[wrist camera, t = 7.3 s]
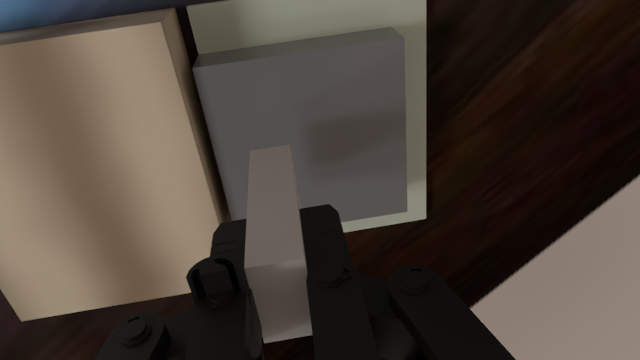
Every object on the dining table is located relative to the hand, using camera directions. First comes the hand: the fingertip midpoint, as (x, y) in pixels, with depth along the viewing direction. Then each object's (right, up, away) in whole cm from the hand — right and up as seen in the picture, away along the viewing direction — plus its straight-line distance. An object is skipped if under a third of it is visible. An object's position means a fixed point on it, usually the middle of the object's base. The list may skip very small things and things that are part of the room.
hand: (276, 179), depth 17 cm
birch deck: (-8, +1, +3) cm, 9 cm away
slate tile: (+1, +2, +3) cm, 4 cm away
